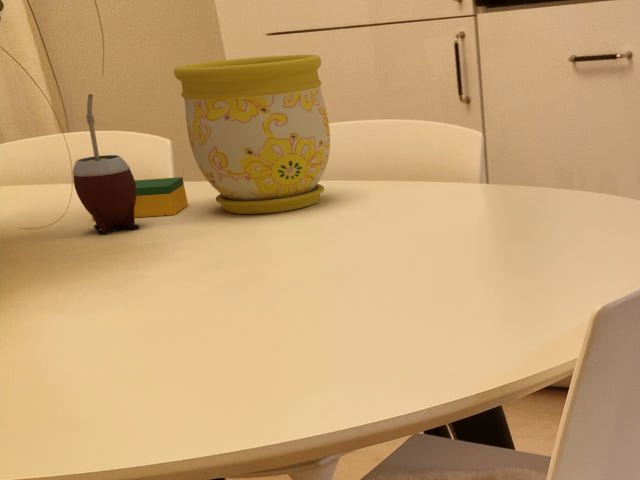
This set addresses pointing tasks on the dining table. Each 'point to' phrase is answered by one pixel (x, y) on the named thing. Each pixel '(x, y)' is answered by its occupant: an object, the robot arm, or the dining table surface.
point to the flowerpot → (258, 130)
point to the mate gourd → (105, 186)
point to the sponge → (159, 197)
